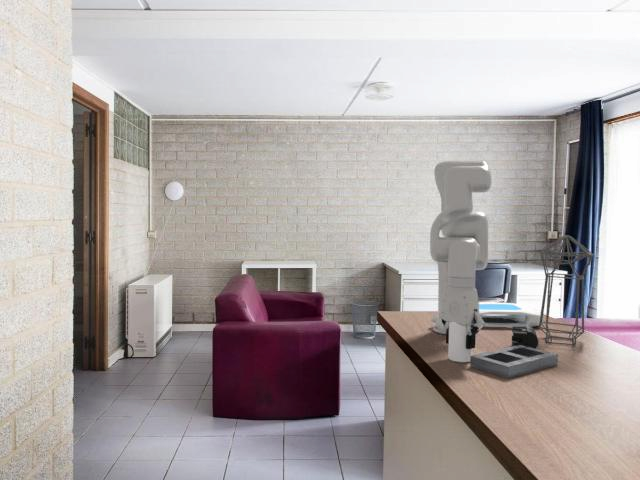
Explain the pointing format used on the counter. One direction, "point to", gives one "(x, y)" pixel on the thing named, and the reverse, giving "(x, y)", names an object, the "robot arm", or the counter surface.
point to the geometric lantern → (547, 250)
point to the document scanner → (509, 314)
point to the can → (458, 343)
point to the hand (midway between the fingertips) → (460, 345)
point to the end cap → (524, 336)
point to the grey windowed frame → (513, 361)
